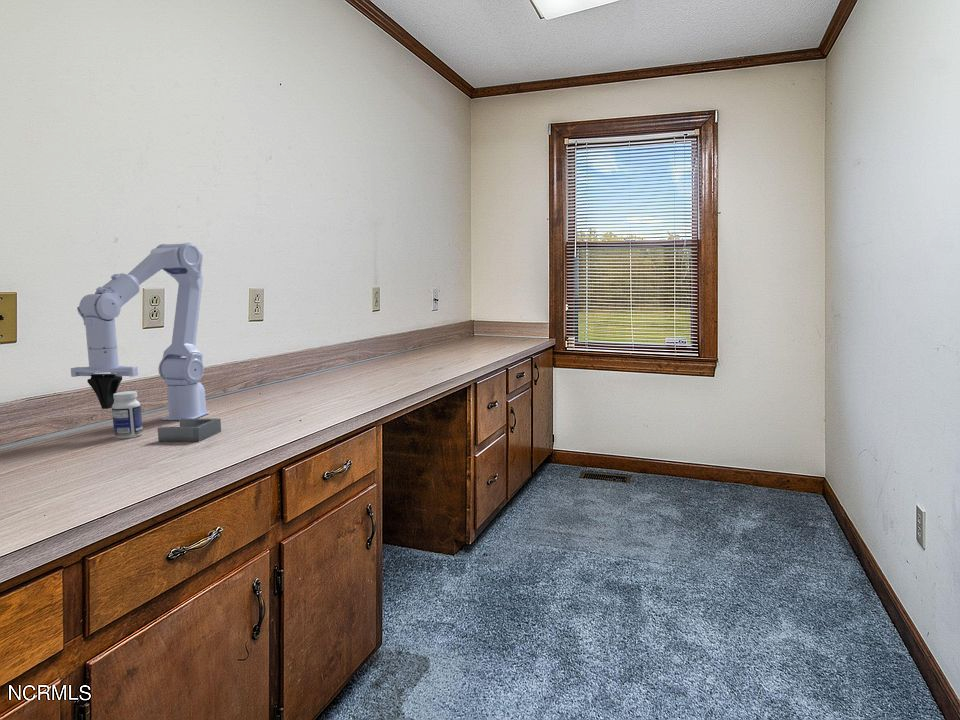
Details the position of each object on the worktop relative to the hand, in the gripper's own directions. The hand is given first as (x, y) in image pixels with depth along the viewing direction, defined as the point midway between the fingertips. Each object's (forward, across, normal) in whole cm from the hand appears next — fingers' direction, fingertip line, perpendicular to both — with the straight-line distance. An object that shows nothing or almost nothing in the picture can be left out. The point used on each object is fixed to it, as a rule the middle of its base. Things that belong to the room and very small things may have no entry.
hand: (107, 408), depth 145 cm
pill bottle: (+7, +4, 0) cm, 8 cm away
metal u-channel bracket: (+6, +18, 0) cm, 20 cm away
